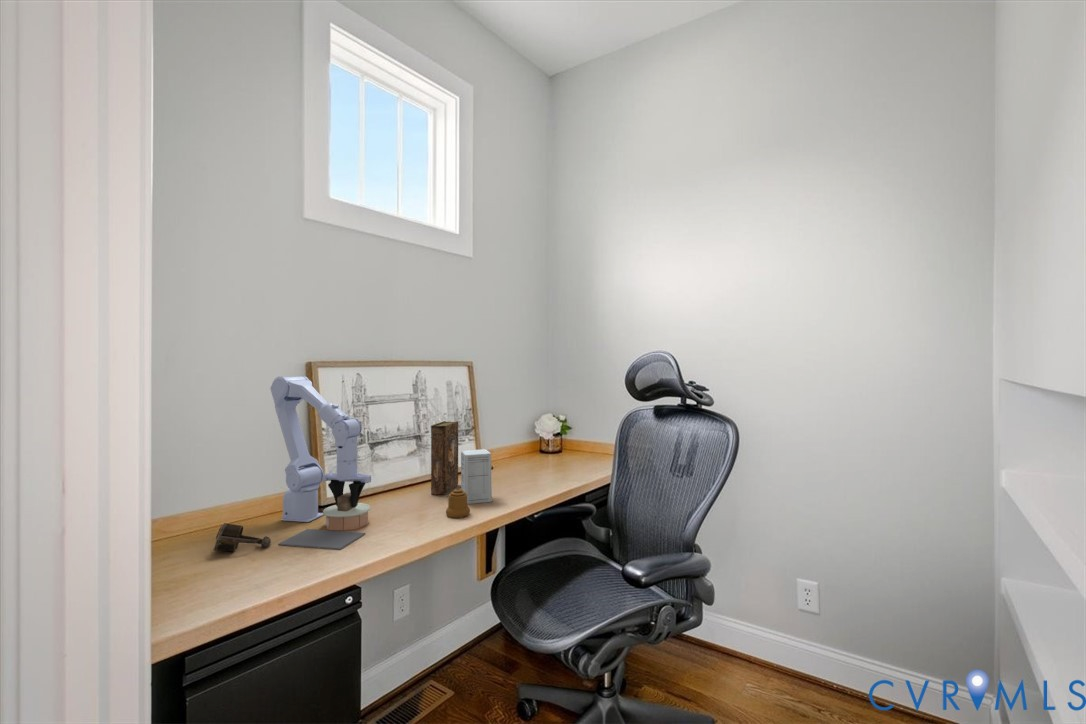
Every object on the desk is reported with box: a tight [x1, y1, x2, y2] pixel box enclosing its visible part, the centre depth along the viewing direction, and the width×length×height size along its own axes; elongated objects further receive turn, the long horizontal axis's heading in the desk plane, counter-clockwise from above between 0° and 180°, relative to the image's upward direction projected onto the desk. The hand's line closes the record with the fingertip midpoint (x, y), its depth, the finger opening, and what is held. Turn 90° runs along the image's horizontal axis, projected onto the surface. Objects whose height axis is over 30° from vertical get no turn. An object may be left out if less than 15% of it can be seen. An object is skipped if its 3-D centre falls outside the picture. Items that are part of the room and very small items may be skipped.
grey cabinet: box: [460, 448, 493, 505], centre depth 177 cm, size 10×9×17 cm
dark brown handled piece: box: [212, 522, 272, 553], centre depth 130 cm, size 7×13×10 cm
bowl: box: [325, 511, 369, 532], centre depth 150 cm, size 11×11×4 cm
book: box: [430, 420, 459, 496], centre depth 191 cm, size 16×6×25 cm, turn 172°
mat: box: [277, 528, 366, 551], centre depth 137 cm, size 18×12×1 cm, turn 79°
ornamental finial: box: [445, 488, 471, 519], centre depth 159 cm, size 8×8×8 cm
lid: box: [322, 492, 371, 517], centre depth 150 cm, size 13×13×5 cm
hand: (346, 506), depth 150 cm, fingers open, 4 cm apart
